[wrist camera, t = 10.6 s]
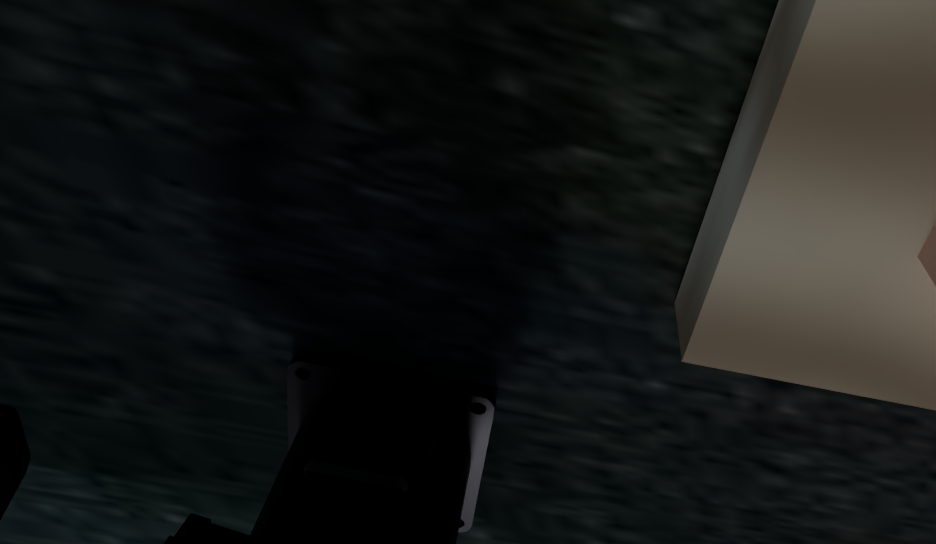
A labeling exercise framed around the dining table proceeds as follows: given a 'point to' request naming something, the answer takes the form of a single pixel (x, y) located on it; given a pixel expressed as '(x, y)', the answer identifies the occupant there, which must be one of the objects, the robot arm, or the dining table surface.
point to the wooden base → (826, 209)
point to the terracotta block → (929, 255)
